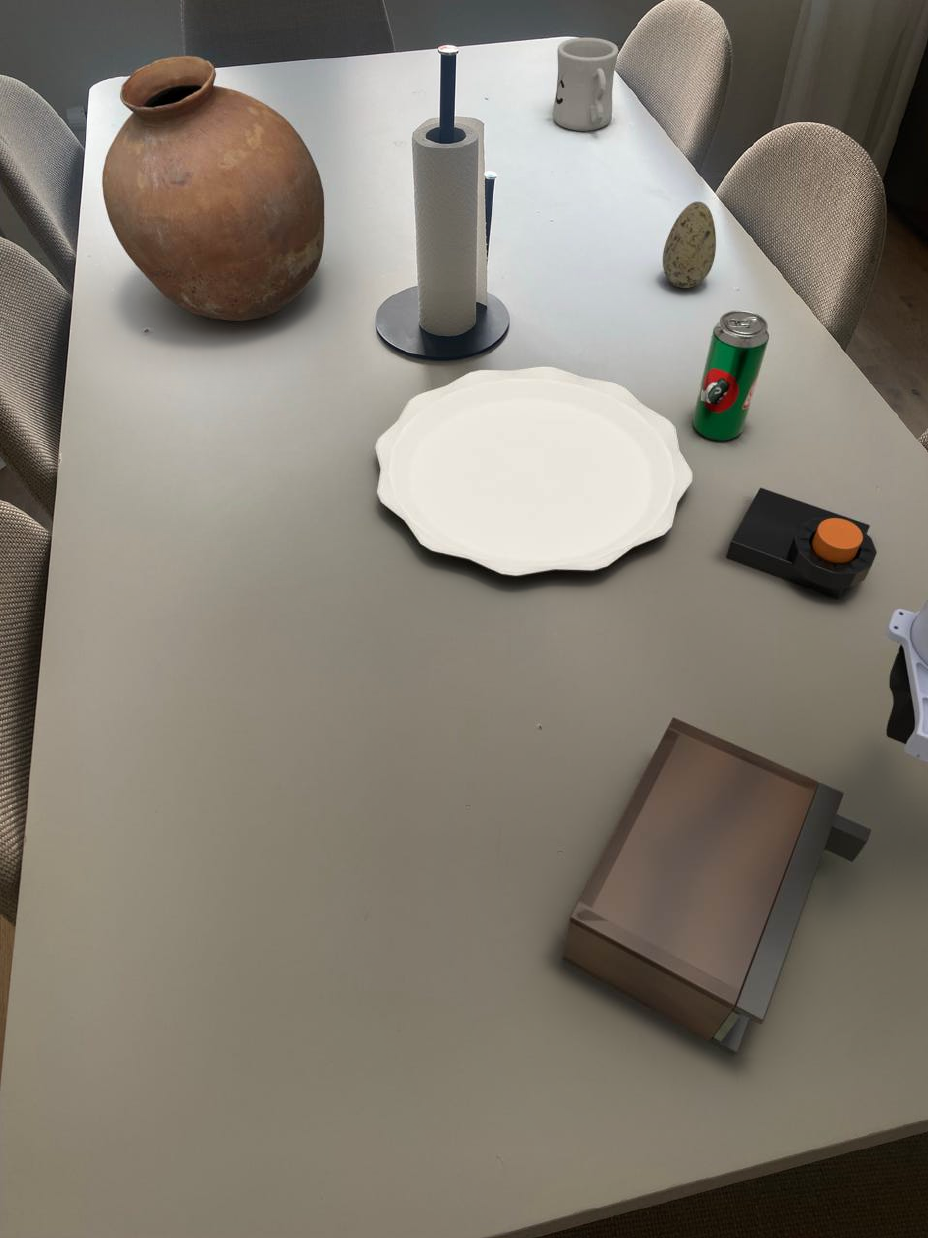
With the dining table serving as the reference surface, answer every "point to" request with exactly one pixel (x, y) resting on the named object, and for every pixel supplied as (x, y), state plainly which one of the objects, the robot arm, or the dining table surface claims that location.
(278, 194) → the pottery
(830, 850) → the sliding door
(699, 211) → the decorative egg
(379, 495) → the plate
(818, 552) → the button
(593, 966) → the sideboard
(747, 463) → the dining table surface
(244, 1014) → the dining table surface
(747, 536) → the control box
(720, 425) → the soda can
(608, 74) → the mug
